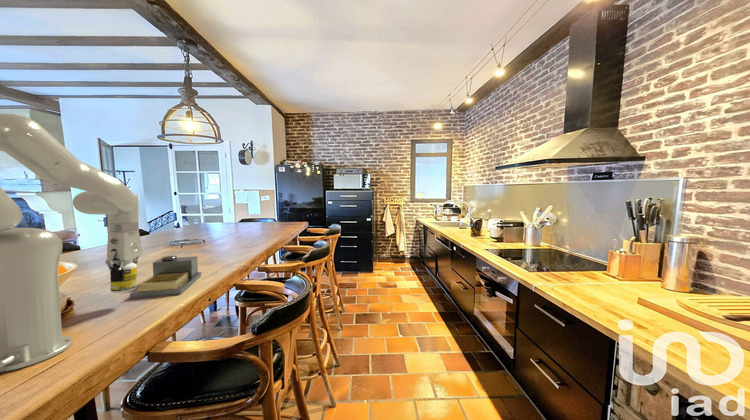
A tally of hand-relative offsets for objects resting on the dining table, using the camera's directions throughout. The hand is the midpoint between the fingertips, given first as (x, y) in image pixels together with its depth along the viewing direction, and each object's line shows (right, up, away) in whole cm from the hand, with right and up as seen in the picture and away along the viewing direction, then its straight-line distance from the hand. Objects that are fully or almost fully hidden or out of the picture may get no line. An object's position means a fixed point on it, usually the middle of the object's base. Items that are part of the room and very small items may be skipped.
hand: (124, 277), depth 85 cm
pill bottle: (0, -5, 0) cm, 5 cm away
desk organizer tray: (0, -9, +19) cm, 21 cm away
